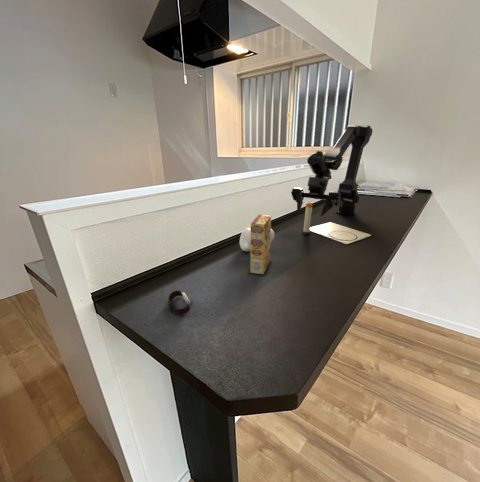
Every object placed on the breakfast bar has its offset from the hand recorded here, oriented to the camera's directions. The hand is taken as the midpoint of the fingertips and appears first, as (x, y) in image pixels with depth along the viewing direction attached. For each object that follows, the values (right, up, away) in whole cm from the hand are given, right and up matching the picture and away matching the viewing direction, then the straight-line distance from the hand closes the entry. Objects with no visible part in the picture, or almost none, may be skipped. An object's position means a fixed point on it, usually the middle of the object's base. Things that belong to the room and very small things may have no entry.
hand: (309, 214), depth 102 cm
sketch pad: (+13, -6, +5) cm, 15 cm away
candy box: (-21, -20, -22) cm, 36 cm away
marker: (0, -7, +3) cm, 8 cm away
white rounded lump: (-22, -14, -11) cm, 29 cm away
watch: (-41, -28, -40) cm, 64 cm away
